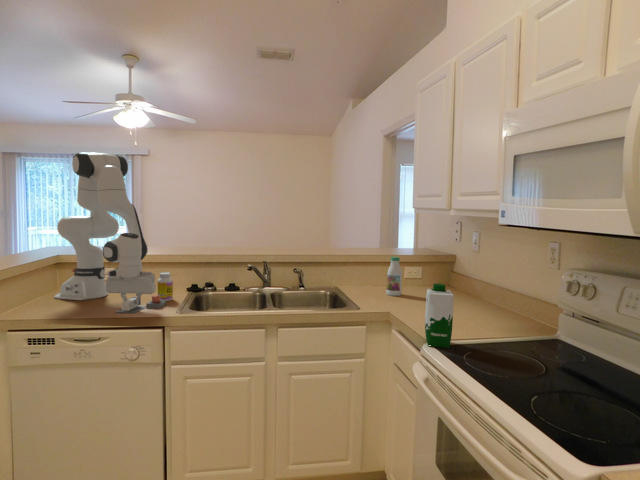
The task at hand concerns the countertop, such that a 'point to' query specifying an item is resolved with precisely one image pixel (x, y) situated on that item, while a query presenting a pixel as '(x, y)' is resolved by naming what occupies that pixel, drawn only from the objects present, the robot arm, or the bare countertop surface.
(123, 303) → the grey rectangular bar
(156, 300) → the button
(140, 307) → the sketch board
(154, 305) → the button collar
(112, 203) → the robot arm
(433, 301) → the milk carton
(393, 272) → the milk bottle
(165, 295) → the supplement bottle
